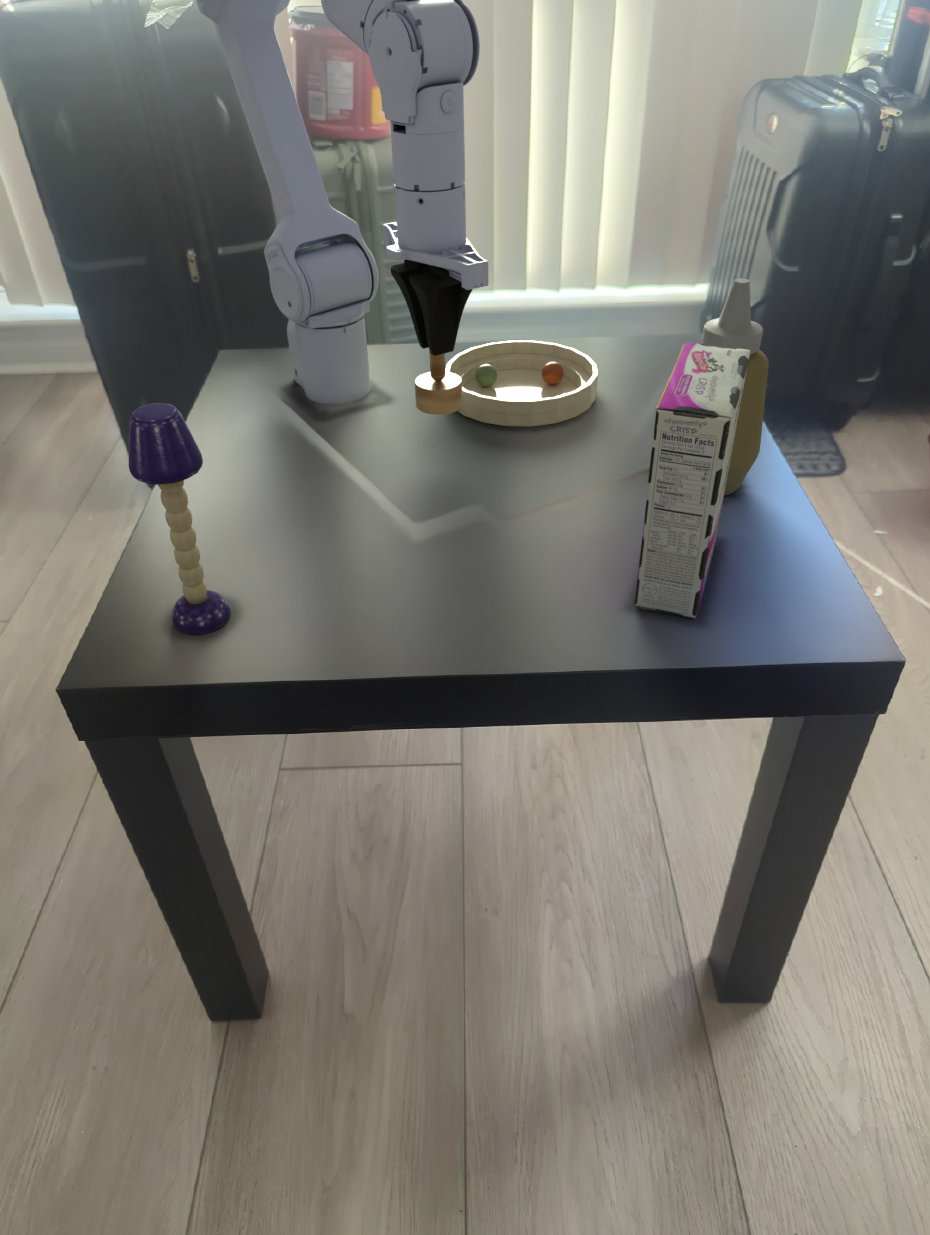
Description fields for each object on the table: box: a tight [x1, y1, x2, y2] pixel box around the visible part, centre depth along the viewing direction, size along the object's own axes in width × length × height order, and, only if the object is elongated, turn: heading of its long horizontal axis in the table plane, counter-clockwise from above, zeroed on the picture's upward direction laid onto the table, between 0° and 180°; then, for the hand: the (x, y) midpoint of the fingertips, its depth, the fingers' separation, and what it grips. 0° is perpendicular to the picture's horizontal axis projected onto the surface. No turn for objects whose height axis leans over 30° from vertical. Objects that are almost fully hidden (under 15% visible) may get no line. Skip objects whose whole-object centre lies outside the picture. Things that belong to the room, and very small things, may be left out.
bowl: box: [445, 340, 599, 427], centre depth 91 cm, size 16×16×4 cm
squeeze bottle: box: [700, 277, 770, 497], centre depth 72 cm, size 8×8×18 cm
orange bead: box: [542, 362, 564, 385], centre depth 93 cm, size 2×2×2 cm
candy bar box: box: [634, 342, 750, 619], centre depth 62 cm, size 11×5×16 cm, turn 160°
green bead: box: [475, 364, 497, 387], centre depth 93 cm, size 2×2×2 cm
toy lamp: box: [128, 402, 232, 635], centre depth 59 cm, size 5×5×17 cm
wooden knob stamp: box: [414, 349, 463, 416], centre depth 78 cm, size 4×4×9 cm
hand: (436, 348), depth 77 cm, fingers closed on wooden knob stamp
